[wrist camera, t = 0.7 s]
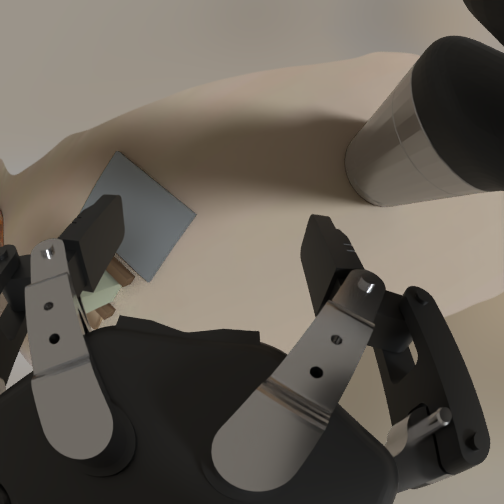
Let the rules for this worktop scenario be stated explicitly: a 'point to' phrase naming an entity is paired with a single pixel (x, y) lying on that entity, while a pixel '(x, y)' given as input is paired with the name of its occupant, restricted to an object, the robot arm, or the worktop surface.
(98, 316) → the offcut top
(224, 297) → the worktop surface
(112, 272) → the rack
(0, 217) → the tin
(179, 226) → the mat
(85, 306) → the sage green upright pillar
